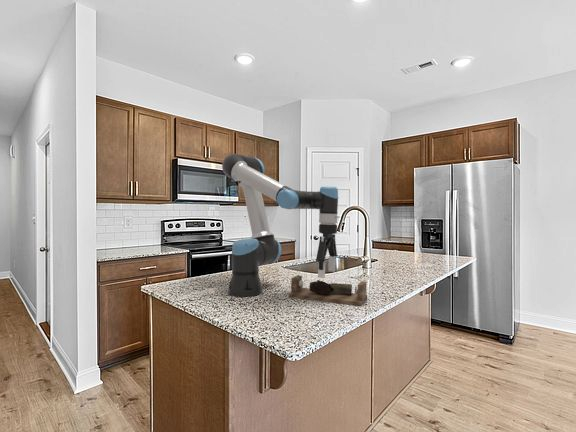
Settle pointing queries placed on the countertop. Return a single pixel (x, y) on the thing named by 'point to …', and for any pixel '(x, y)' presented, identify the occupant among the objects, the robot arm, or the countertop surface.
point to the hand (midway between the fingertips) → (326, 274)
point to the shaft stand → (347, 299)
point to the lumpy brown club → (330, 288)
